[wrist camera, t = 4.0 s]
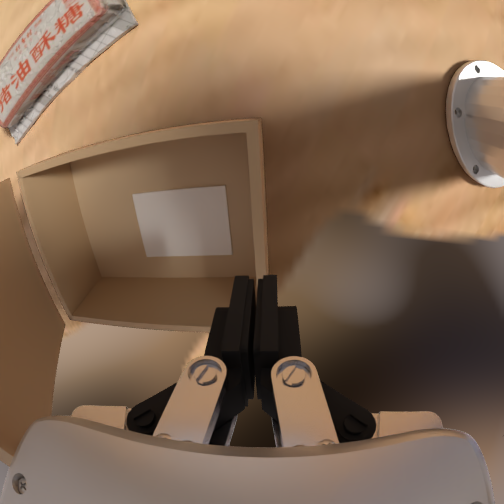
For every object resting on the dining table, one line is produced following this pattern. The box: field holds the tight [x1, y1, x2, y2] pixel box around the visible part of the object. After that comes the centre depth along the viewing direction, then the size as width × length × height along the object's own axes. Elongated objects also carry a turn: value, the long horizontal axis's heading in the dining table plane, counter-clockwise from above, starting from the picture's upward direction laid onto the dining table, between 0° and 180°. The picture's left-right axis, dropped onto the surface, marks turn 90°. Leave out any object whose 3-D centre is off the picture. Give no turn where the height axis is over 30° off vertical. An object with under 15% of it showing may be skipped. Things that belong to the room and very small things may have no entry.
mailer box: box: [16, 118, 269, 333], centre depth 20 cm, size 18×14×7 cm
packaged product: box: [0, 0, 138, 144], centre depth 13 cm, size 18×5×10 cm
